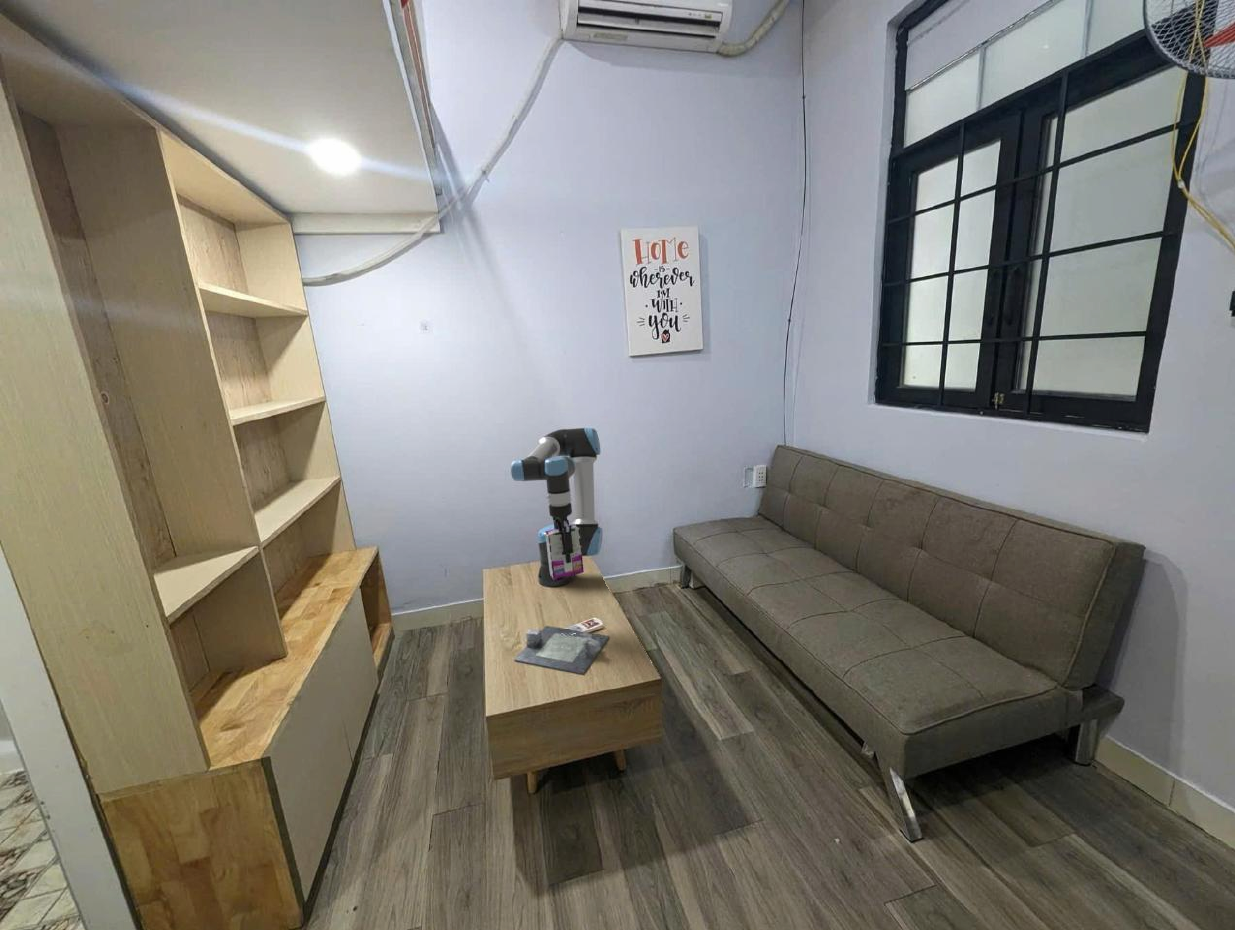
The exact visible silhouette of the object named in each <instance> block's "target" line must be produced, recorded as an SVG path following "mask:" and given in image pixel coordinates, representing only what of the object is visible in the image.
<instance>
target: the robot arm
mask: <svg viewBox="0 0 1235 930" xmlns="http://www.w3.org/2000/svg"><path fill="white" fill-rule="evenodd" d="M599 455H601V443H600V438H599V434H598V431H597V430H596V429H595V428H593V427H581V428H562V429H557V430H555V431H552V432H549V433H548V434H546V435H545V436H543V437H541V438H540V439H539V440H538V443H537V446H536V447H535V448H534V449H533V450H532V451H531V452H530V453H529V454H528V455H527V456H526V457H525V458H524V459H518V460H516V459H515V460H514V461H512V462H511V466H510V475H511V478H512V479H513V480H514V481H516V482H528V481H529V482H530V481H531V482H532V481H533V482H534V481H535V482H536V481H545V482H546V488H547V491H546V492H547V495H546V499H547V502H548V504H549V505H548V509H549V510H548V512H549V515H550V516H551V518H552V521H553V524H550V525H547V526H544V527H543V528H541V529H540V530H539V531H538V533H537V538H538V539H537V540H538V541H537V543H538V549H539V559H540V566H539V571H538V573H537V574H538V576H537V578H538V579H537V580H538V583H539V585H541V586H544V587H550V588H551V587H560V586H564V585H567V584H569V583H571V582H572V581H573V580H574V577H575V575H571V576H567V577H563V578H559V579H555V580H553V578H552V577H551V575H550V569H549V561H548V552H547V544H546V535H545V531H548V530H552V529H558V530H559V532H560V534H561V536H562V545H563V551H564V553H562V555H563V561H564V571H565V572H568V571H572V570H573V568H572V557H571V553H573V545H572V535H571V525H576V526H577V527H578V528H579V530H580V539H581V550H582V557H593V556H594V557H595V556H598V555H599V554H600V552H601V549H602V543H603V528H602V527H600V526H599V522H598V521H597V520H596V519H595V518H596V517H595V515H596V514H595V483H594V482H595V475H594V474H595V472H594V470H595V469H594V463H595V462H596V461H597V459H598V456H599ZM571 477H573V506H572V503H571V502H572V497H571V496H572V495H571V488H570V478H571ZM572 507H573V509H572ZM572 513H573V515H574V516H573V518H574V519H573V521H572V522H571V523H570V521H569V519H568V517H569V516H570V515H572ZM561 531H563V532H561Z"/></svg>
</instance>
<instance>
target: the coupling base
mask: <svg viewBox="0 0 1235 930" xmlns="http://www.w3.org/2000/svg"><path fill="white" fill-rule="evenodd" d="M561 633H576V634H573V635H571V634H570V635H563V634H561ZM525 637H526V641H525V644H526V646H525V648H523V649H522V650H521V652H520V653H519V654H518V655H517V656H516V657H515V658H514V660H513V661H515V662H518V663H523V664H528V665H533V666H537V667H544V668H549V669H553V670H557V671H558V670H559V671H564V672H568V673H573V674H579V675H585V673H586V672H587V670H588V669H589V668H590V666H591V664H592V663H593V662H594V660H595V658H596V657H597V656H598V654H599V653H600V651H601V650H602V648H603V647H604V646H605V644H606V643H607V641H608V640H609V638H610V636H609V635H606V634H605V635H604V634H598V633H594V632H592V633H591V632H586V631H580V630H574V629H569V628H568V629H567V628H562V627H556V626H550V625H545V626H544V627H543V629H541V628H537V629H527V631H526V632H525Z"/></svg>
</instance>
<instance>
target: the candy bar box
mask: <svg viewBox="0 0 1235 930" xmlns="http://www.w3.org/2000/svg"><path fill="white" fill-rule="evenodd" d="M570 525H571V524H570ZM561 532H563V531H561ZM545 535H546V544H547V552H548V561H549V569H550V575H551V577H552V578H553V580H555V579H559V578H563V577H567V576H571V575H574V576H575V575H578V574H582V573H584V563H583V556H582V550H581V539H580V530H579V528H578V527H577V526H576V525H571V535H572V545H573V553H571V557H572V568H573V570H572V571H568V572H565V571H564V561H563V555H562V553H564V551H563V545H562V536H561V534H560V532H559V530H558V529H552V530H548V531H545Z"/></svg>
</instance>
